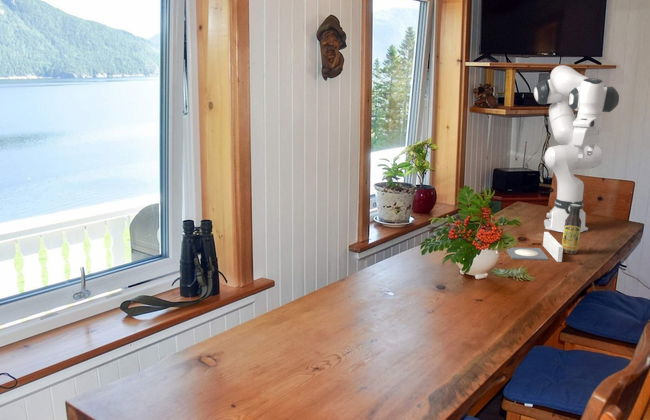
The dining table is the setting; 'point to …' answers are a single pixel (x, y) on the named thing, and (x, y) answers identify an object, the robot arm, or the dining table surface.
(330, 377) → the dining table surface
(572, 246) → the sauce bottle
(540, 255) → the mat
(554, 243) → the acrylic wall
